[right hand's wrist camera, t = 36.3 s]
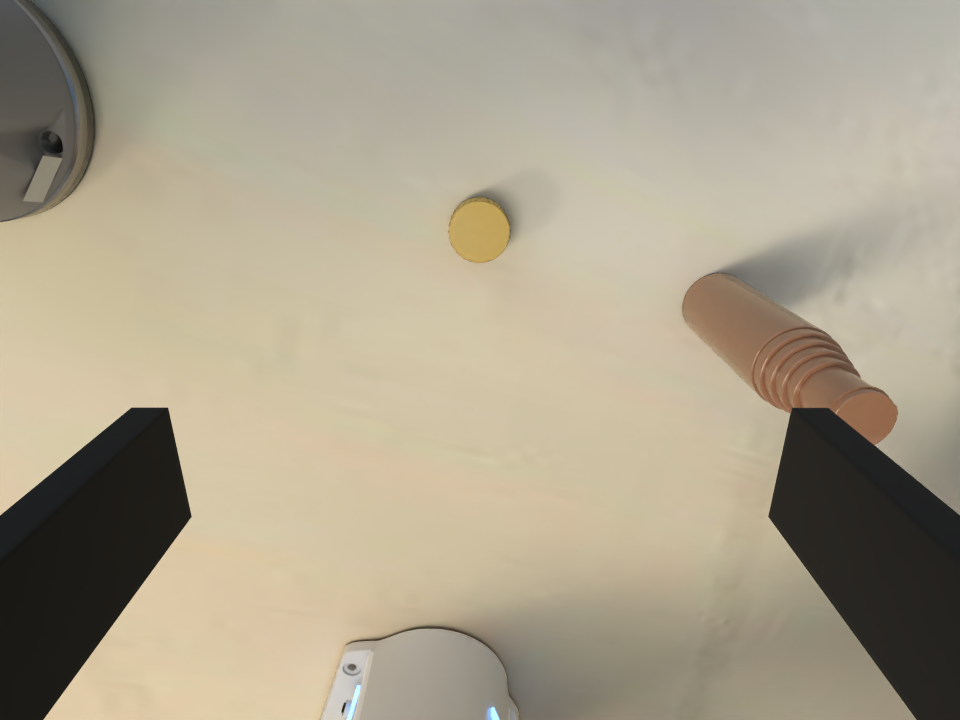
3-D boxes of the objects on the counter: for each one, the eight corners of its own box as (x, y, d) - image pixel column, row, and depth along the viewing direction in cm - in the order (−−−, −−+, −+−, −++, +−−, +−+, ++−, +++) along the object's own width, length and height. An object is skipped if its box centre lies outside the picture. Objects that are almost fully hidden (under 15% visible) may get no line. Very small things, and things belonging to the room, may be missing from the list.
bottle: (689, 343, 45) (817, 479, 28) (675, 285, 43) (802, 392, 26) (752, 323, 44) (923, 449, 27) (741, 263, 43) (914, 358, 26)
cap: (521, 224, 42) (523, 229, 40) (482, 268, 43) (482, 276, 41) (476, 183, 41) (476, 186, 39) (437, 230, 42) (435, 235, 40)
